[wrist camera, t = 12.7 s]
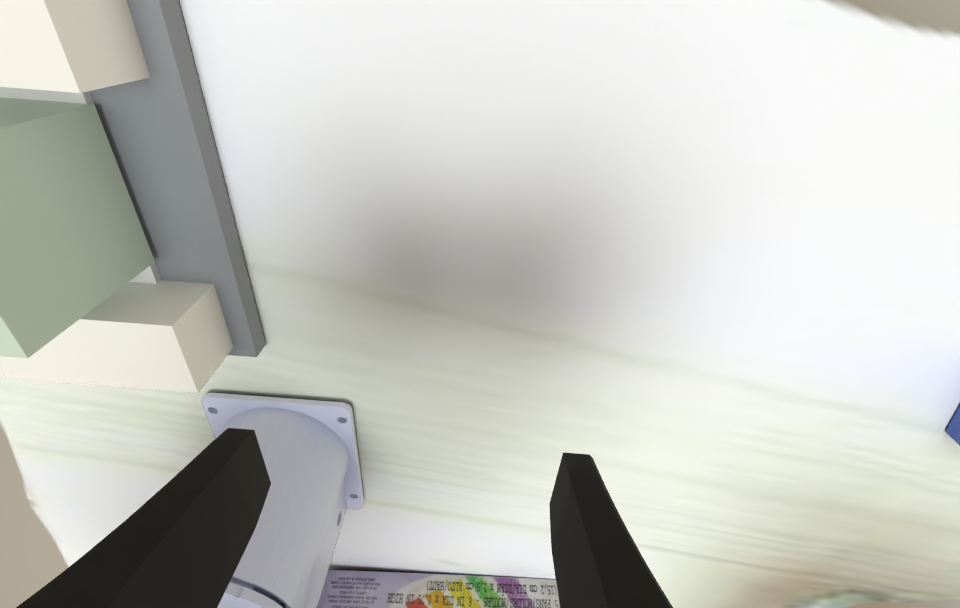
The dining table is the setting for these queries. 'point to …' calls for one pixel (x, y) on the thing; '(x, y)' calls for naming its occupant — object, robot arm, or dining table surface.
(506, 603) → the cake pan box
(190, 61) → the mounting board
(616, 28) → the dining table surface
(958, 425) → the walkman
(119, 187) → the module block
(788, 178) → the dining table surface
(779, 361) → the dining table surface
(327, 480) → the robot arm
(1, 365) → the mounted modules
